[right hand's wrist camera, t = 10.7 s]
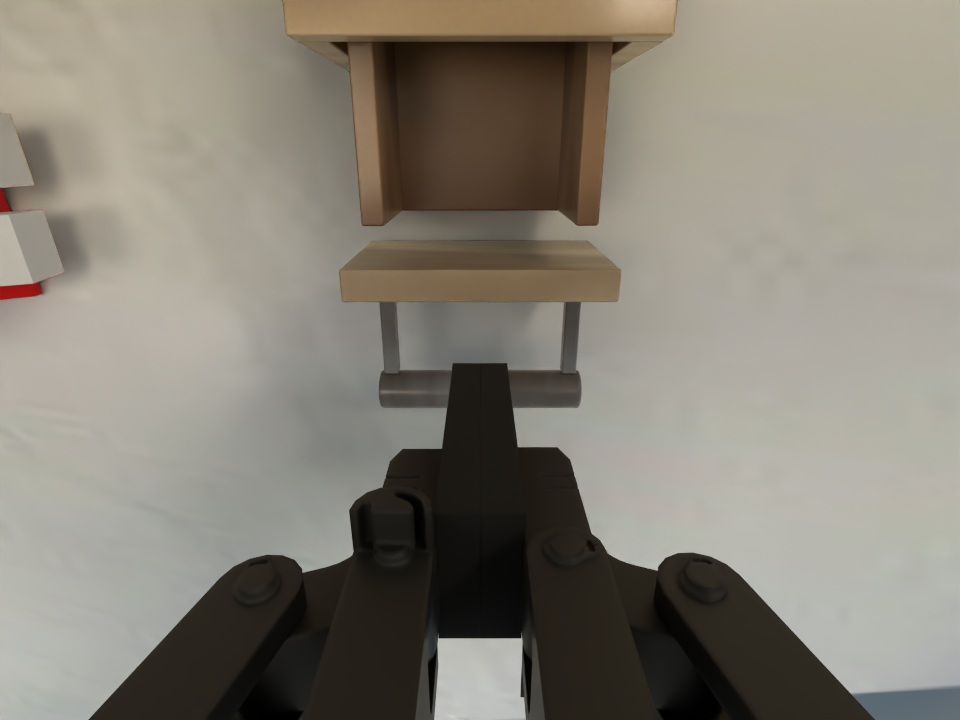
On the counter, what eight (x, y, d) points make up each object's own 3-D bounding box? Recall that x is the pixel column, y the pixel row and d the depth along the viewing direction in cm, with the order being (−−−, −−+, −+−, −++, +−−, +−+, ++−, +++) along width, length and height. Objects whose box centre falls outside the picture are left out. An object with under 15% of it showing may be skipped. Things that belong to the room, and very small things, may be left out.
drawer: (578, 369, 27) (605, 431, 21) (381, 369, 27) (354, 431, 21) (624, -260, 19) (692, -451, 13) (334, -260, 19) (267, -451, 13)
